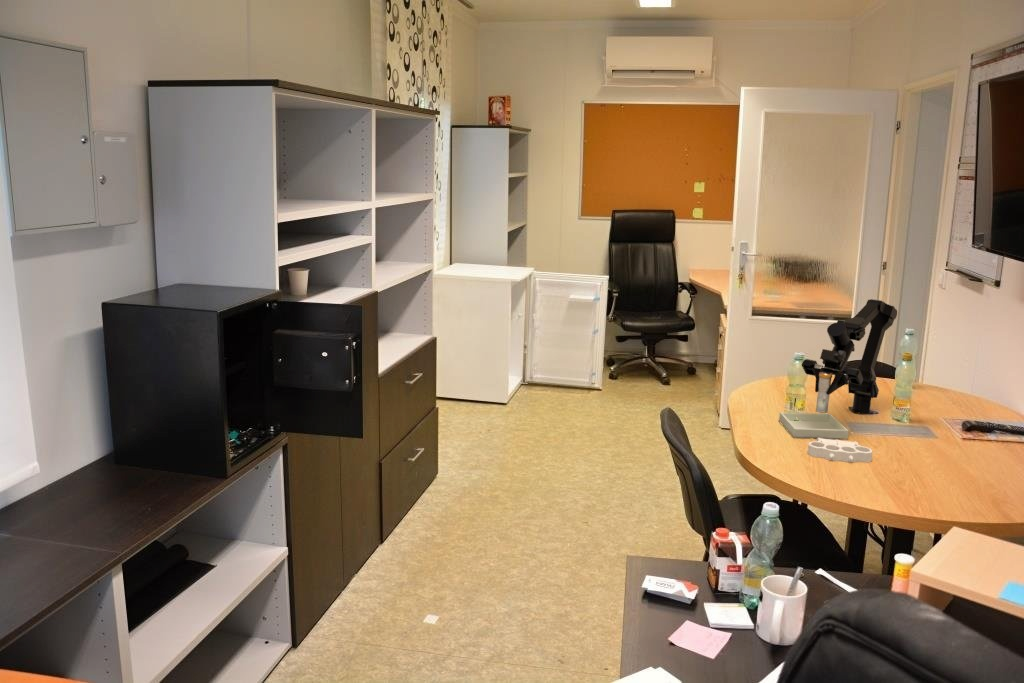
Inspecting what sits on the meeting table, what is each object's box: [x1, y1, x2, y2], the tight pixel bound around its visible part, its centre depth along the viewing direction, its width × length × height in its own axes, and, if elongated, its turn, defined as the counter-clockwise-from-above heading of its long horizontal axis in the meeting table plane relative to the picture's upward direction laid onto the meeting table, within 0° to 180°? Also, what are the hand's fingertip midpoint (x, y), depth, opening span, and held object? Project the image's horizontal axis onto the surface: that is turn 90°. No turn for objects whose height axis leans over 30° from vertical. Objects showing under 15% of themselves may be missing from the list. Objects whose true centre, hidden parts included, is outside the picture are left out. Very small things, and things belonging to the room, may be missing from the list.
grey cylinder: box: [815, 371, 833, 414], centre depth 263 cm, size 4×4×13 cm
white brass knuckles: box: [807, 438, 873, 463], centre depth 245 cm, size 3×18×15 cm
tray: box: [778, 411, 850, 440], centre depth 267 cm, size 17×17×3 cm
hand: (821, 392), depth 262 cm, fingers closed on grey cylinder, 4 cm apart
